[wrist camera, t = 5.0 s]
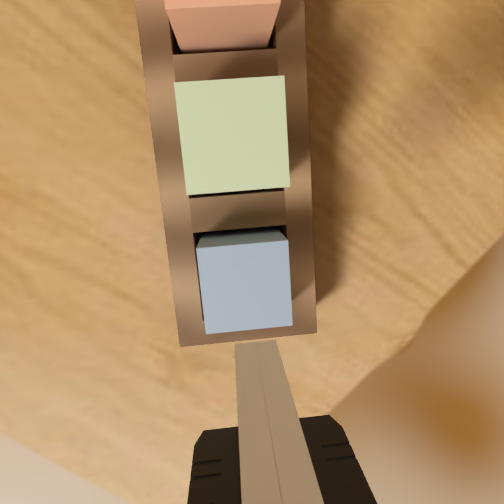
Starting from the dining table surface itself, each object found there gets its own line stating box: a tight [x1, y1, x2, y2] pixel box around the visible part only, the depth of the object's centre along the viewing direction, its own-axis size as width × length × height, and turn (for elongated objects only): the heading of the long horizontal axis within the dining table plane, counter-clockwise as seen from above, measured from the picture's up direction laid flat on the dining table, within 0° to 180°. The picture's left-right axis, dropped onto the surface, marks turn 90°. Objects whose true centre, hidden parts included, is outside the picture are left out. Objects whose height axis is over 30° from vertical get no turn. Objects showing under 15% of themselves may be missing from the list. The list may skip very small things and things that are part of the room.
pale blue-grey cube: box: [196, 226, 293, 334], centre depth 27 cm, size 6×6×7 cm
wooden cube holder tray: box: [135, 0, 317, 347], centre depth 27 cm, size 30×11×4 cm, turn 4°
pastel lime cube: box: [174, 75, 290, 195], centre depth 23 cm, size 6×6×7 cm
